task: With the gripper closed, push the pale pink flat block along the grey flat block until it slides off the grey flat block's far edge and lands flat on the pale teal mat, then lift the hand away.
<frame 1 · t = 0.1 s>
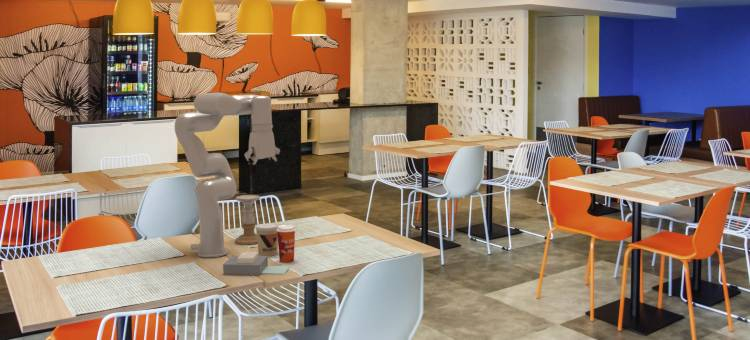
hand: (263, 173, 293), 37 cm above the table, tool pointing down, fingers open, 9 cm apart
grey flat block: (246, 270, 296), on the table
paper cup: (287, 261, 309), on the table
coffee cup: (268, 254, 320), on the table
mat: (275, 270, 295), on the table
candle holder: (249, 242, 340), on the table
pale pink flat block: (248, 260, 295), point 4 cm above the table, touching grey flat block
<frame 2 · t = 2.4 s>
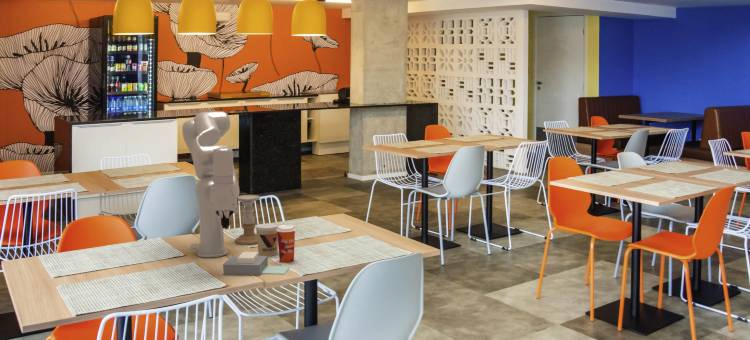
hand: (225, 227, 293), 17 cm above the table, tool pointing down, fingers closed
nothing on the table moved.
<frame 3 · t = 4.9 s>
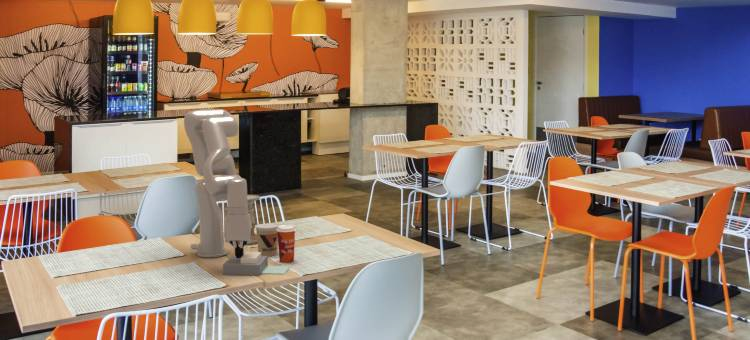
hand: (239, 257, 295), 5 cm above the table, tool pointing down, fingers closed
pale pink flat block: (251, 260, 295), point 4 cm above the table, touching gripper
everything else where it was.
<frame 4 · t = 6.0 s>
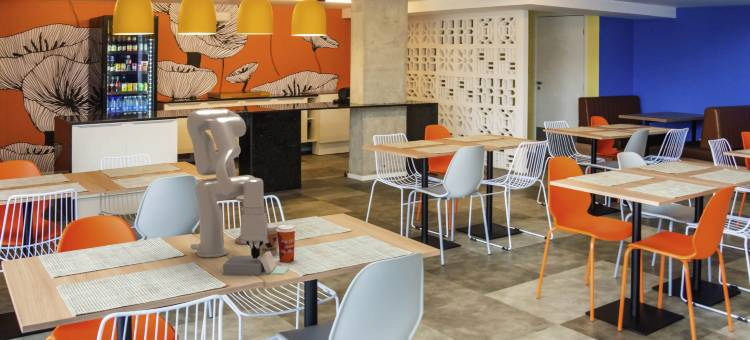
hand: (255, 257, 294), 5 cm above the table, tool pointing down, fingers closed
pale pink flat block: (266, 262, 295), point 3 cm above the table, tilted 68°, touching mat
everything else where it was.
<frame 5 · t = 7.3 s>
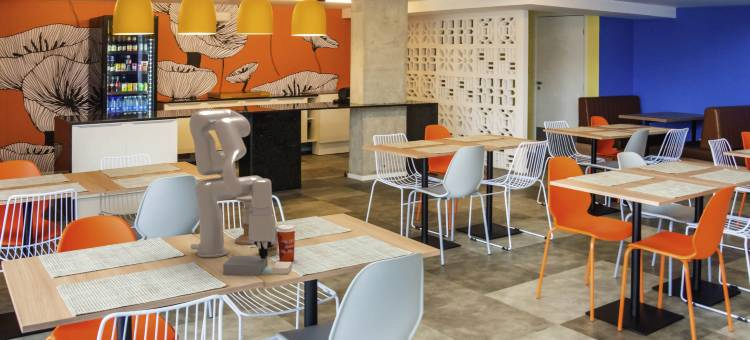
hand: (263, 258, 294), 5 cm above the table, tool pointing down, fingers closed
pale pink flat block: (282, 265, 294), point 2 cm above the table, tilted 180°, touching mat
everything else where it was.
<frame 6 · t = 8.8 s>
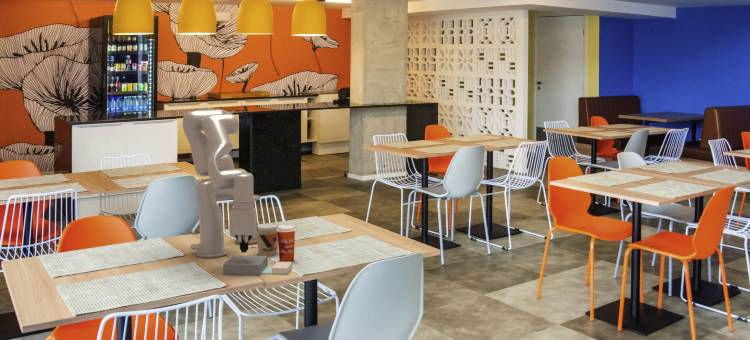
hand: (244, 251, 295), 7 cm above the table, tool pointing down, fingers closed
nothing on the table moved.
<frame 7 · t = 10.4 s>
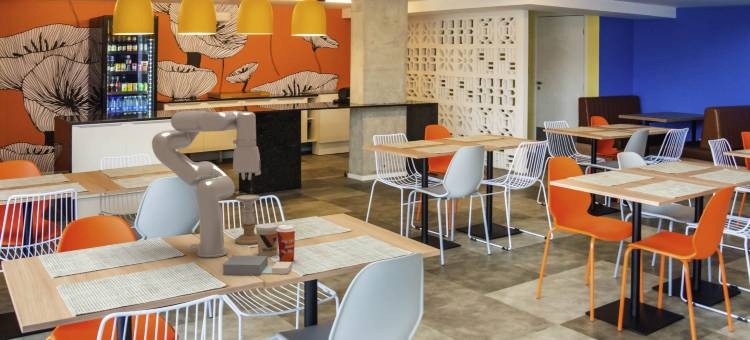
hand: (247, 189, 306), 29 cm above the table, tool pointing down, fingers closed
nothing on the table moved.
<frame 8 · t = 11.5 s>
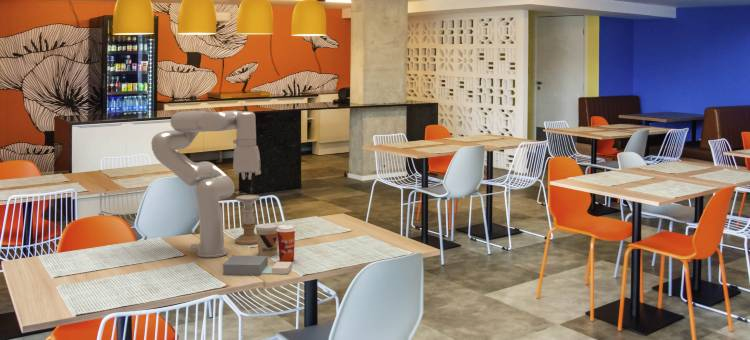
hand: (247, 188, 306), 29 cm above the table, tool pointing down, fingers closed
nothing on the table moved.
at the end: pale pink flat block point 2.3 cm above the table; pale pink flat block inside the target area on the mat (2.6 cm from its centre), point 2.3 cm above the mat's base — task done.
